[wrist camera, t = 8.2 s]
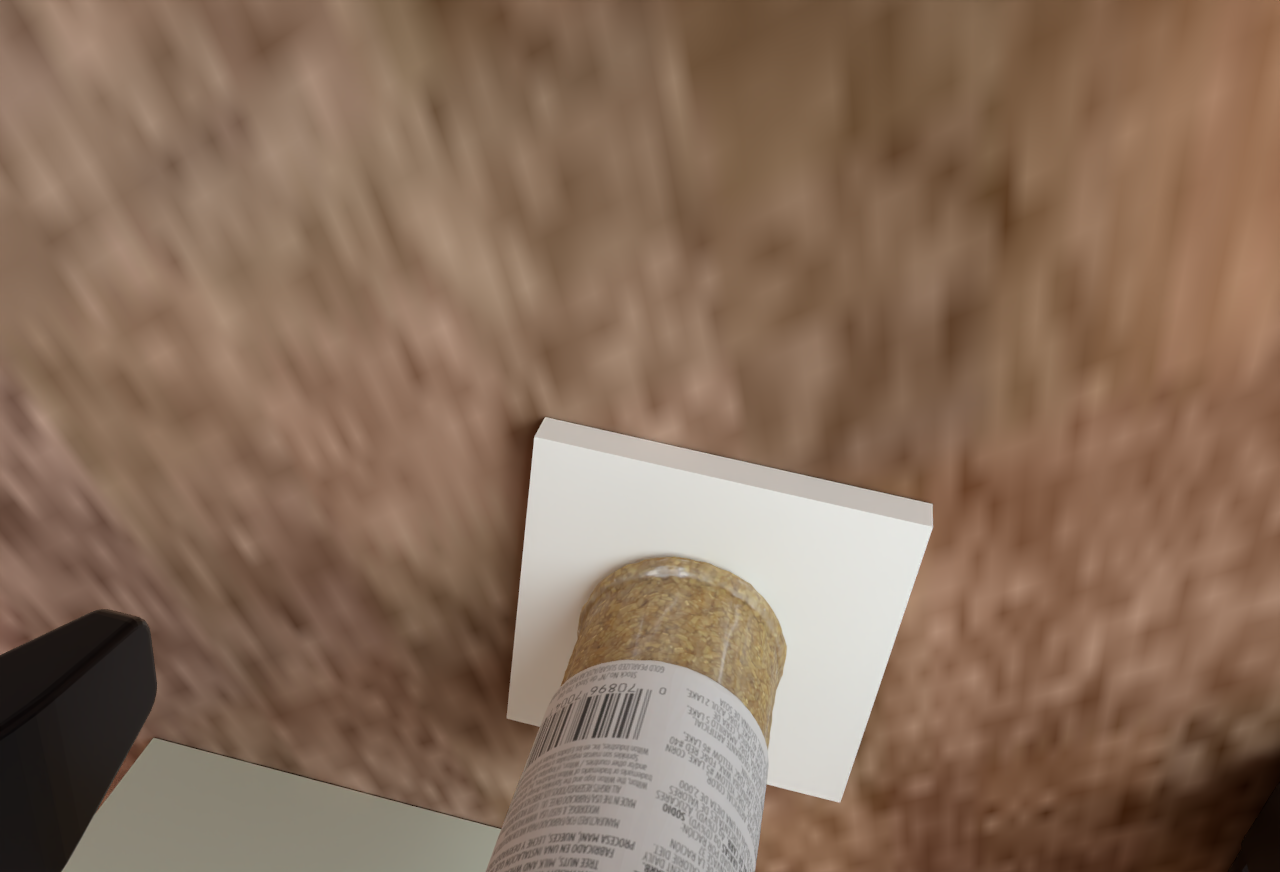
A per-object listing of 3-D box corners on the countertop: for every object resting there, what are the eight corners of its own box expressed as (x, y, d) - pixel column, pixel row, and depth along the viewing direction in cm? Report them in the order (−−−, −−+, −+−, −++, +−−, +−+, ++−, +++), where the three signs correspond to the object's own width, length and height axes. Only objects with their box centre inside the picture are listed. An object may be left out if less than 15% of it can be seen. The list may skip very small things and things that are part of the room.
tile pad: (932, 503, 23) (932, 526, 22) (841, 776, 27) (840, 802, 27) (545, 417, 24) (534, 436, 23) (516, 695, 28) (506, 718, 27)
